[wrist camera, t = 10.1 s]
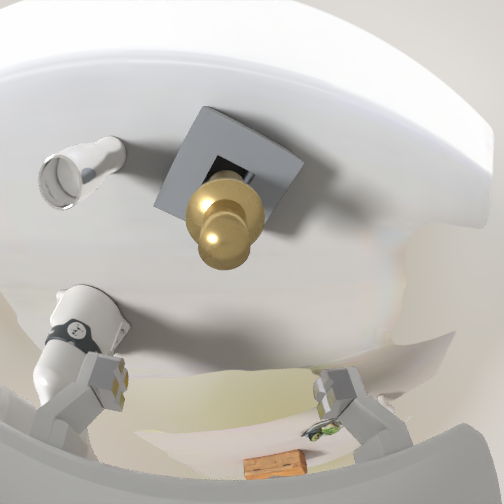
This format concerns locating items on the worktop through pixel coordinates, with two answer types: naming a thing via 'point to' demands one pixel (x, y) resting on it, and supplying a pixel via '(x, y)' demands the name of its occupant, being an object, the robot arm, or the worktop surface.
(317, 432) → the salad plate
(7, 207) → the worktop surface
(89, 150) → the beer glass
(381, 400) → the lightbulb
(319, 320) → the worktop surface
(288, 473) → the wooden box
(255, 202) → the brass knob plunger
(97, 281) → the worktop surface
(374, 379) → the worktop surface
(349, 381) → the robot arm
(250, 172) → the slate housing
